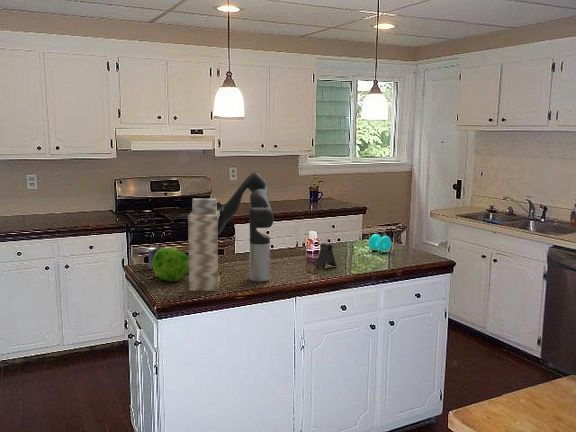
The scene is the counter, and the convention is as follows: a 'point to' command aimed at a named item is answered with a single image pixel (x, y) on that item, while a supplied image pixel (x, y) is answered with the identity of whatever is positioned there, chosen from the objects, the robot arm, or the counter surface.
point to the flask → (151, 255)
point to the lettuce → (170, 264)
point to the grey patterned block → (204, 206)
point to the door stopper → (325, 256)
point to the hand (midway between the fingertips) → (207, 200)
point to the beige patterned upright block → (203, 252)
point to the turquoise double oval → (380, 242)
